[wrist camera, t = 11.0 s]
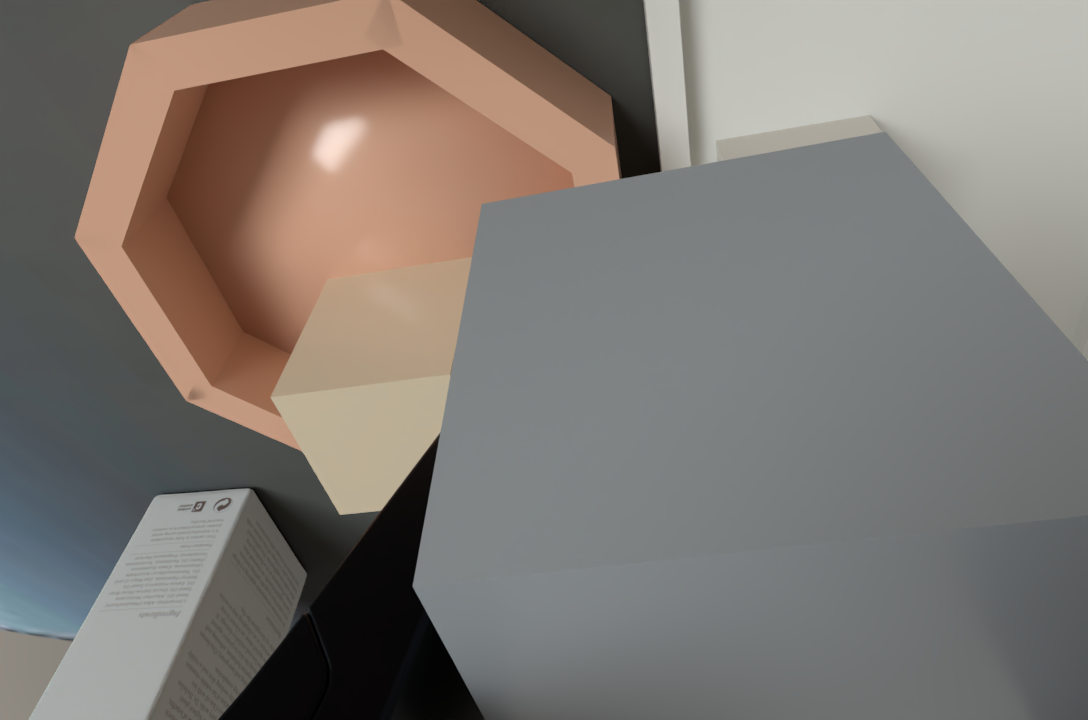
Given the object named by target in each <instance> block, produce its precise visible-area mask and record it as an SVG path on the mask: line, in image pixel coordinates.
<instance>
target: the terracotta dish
mask: <svg viewBox="0 0 1088 720" xmlns="http://www.w3.org/2000/svg"><path fill="white" fill-rule="evenodd" d="M618 179H622V173H621V166H620V158H619V151H618V144H617V137H616V129H615V122H614V115H613V107H612V100H611V96H610V95H609V94H607V93H606V92H604V91H603V90H602V89H600V88H599V87H597V86H596V85H595V84H593V83H592V82H590V81H589V80H588V79H586V78H585V77H583V76H582V75H581V74H579V73H578V72H576V71H575V70H574V69H572V68H571V67H569V66H568V65H567V64H565V63H564V62H562V61H561V60H560V59H558V58H557V57H555V56H554V55H553V54H551V53H550V52H548V51H547V50H546V49H544V48H543V47H541V46H540V45H539V44H537V43H536V42H534V41H533V40H532V39H530V38H529V37H527V36H526V35H525V34H523V33H522V32H520V31H519V30H518V29H516V28H515V27H513V26H512V25H511V24H509V23H508V22H506V21H505V20H504V19H502V18H501V17H499V16H498V15H497V14H495V13H494V12H492V11H491V10H489V9H488V8H487V7H485V6H484V5H482V4H481V3H480V2H478V1H477V0H210V1H206V2H201V3H197V4H192V5H190V6H188V7H187V8H185V9H184V10H182V11H181V12H179V13H178V14H176V15H175V16H173V17H172V18H170V19H168V20H167V21H165V22H164V23H162V24H161V25H159V26H158V27H156V28H155V29H153V30H152V31H150V32H148V33H147V34H145V35H144V36H142V37H141V38H139V39H138V40H136V41H135V42H133V43H132V44H130V47H129V50H128V54H127V57H126V61H125V64H124V68H123V71H122V75H121V78H120V81H119V85H118V88H117V92H116V95H115V99H114V102H113V106H112V109H111V113H110V116H109V120H108V123H107V127H106V130H105V134H104V137H103V141H102V144H101V148H100V151H99V155H98V158H97V162H96V165H95V169H94V172H93V176H92V179H91V182H90V186H89V189H88V193H87V196H86V200H85V203H84V207H83V210H82V214H81V217H80V221H79V224H78V228H77V231H76V235H75V239H76V241H77V242H78V244H79V245H80V247H81V248H82V250H83V251H84V252H85V254H86V255H87V257H88V258H89V260H90V261H91V263H92V264H93V266H94V267H95V268H96V270H97V271H98V273H99V274H100V276H101V277H102V279H103V280H104V282H105V283H106V285H107V286H108V287H109V289H110V290H111V292H112V293H113V295H114V296H115V298H116V299H117V301H118V302H119V303H120V305H121V306H122V308H123V309H124V311H125V312H126V314H127V315H128V317H129V318H130V320H131V321H132V322H133V324H134V325H135V327H136V328H137V330H138V331H139V333H140V334H141V336H142V337H143V338H144V340H145V341H146V343H147V344H148V346H149V347H150V349H151V350H152V352H153V353H154V355H155V356H156V357H157V359H158V360H159V362H160V363H161V365H162V366H163V368H164V369H165V371H166V372H167V373H168V375H169V376H170V378H171V379H172V381H173V382H174V384H175V385H176V387H177V388H178V390H179V391H180V392H181V394H182V395H183V397H184V398H185V400H186V401H188V402H190V403H192V404H195V405H197V406H199V407H202V408H204V409H206V410H208V411H211V412H213V413H215V414H218V415H220V416H222V417H225V418H227V419H229V420H231V421H234V422H236V423H238V424H241V425H243V426H245V427H247V428H250V429H252V430H254V431H257V432H259V433H261V434H264V435H266V436H268V437H270V438H273V439H275V440H277V441H280V442H282V443H284V444H286V445H289V446H291V447H293V448H296V449H298V450H300V451H302V450H301V448H300V446H299V445H298V443H297V441H296V440H295V438H294V436H293V435H292V433H291V431H290V430H289V428H288V426H287V425H286V423H285V421H284V419H283V418H282V416H281V414H280V413H279V411H278V409H277V408H276V406H275V404H274V403H273V401H272V399H271V398H270V397H271V395H272V393H273V391H274V389H275V387H276V385H277V383H278V381H279V378H280V376H281V374H282V372H283V370H284V368H285V366H286V364H287V362H288V360H289V358H290V356H291V354H292V352H293V350H294V347H295V345H296V343H297V341H298V339H299V337H300V335H301V333H302V331H303V329H304V327H305V325H306V323H307V321H308V319H309V317H310V314H311V312H312V310H313V308H314V306H315V304H316V302H317V300H318V298H319V296H320V294H321V292H322V290H323V288H324V286H325V283H326V281H327V279H333V278H339V277H346V276H352V275H359V274H365V273H372V272H378V271H385V270H391V269H398V268H404V267H411V266H417V265H424V264H430V263H436V262H443V261H449V260H456V259H462V258H469V257H472V255H473V249H474V244H475V238H476V233H477V227H478V222H479V216H480V211H481V205H482V204H484V203H490V202H495V201H501V200H507V199H512V198H518V197H523V196H529V195H534V194H540V193H546V192H551V191H557V190H562V189H568V188H573V187H579V186H585V185H590V184H596V183H601V182H607V181H613V180H618Z"/></svg>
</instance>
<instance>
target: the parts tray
mask: <svg viewBox="0 0 1088 720" xmlns="http://www.w3.org/2000/svg"><path fill="white" fill-rule="evenodd" d="M643 3H644V13H645V23H646V33H647V43H648V53H649V63H650V72H651V82H652V92H653V102H654V112H655V122H656V132H657V142H658V152H659V161H660V171H661V172H663V171H668V170H674V169H679V168H685V167H691V166H696V165H702V164H707V163H713V162H717V149H716V140H721V139H727V138H733V137H739V136H746V135H752V134H758V133H764V132H770V131H776V130H782V129H788V128H794V127H800V126H806V125H812V124H818V123H824V122H830V121H836V120H842V119H848V118H854V117H860V116H866V115H870V116H871V117H872V119H873V120H874V121H875V123H876V124H877V125H878V126H879V128H880V129H881V130H882V132H886V133H887V134H888V135H889V136H890V137H891V138H892V140H893V141H894V142H895V143H896V144H897V145H898V146H899V148H900V149H901V150H902V151H903V152H904V153H905V154H906V155H907V157H908V158H909V159H910V160H911V161H912V162H913V163H914V165H915V166H916V167H917V168H918V169H919V170H920V171H921V172H922V174H923V175H924V176H925V177H926V178H927V179H928V180H929V182H930V183H931V184H932V185H933V186H934V187H935V188H936V189H937V191H938V192H939V193H940V194H941V195H942V196H943V197H944V199H945V200H946V201H947V202H948V203H949V204H950V205H951V206H952V208H953V209H954V210H955V211H956V212H957V213H958V214H959V216H960V217H961V218H962V219H963V220H964V221H965V222H966V223H967V225H968V226H969V227H970V228H971V229H972V230H973V231H974V233H975V234H976V235H977V236H978V237H979V238H980V239H981V240H982V242H983V243H984V244H985V245H986V246H987V247H988V248H989V250H990V251H991V252H992V253H993V254H994V255H995V256H996V257H997V259H998V260H999V261H1000V262H1001V263H1002V264H1003V265H1004V266H1005V268H1006V269H1007V270H1008V271H1009V272H1010V273H1011V274H1012V276H1013V277H1014V278H1015V279H1016V280H1017V281H1018V282H1019V283H1020V285H1021V286H1022V287H1023V288H1024V289H1025V290H1026V291H1027V293H1028V294H1029V295H1030V296H1031V297H1032V298H1033V299H1034V300H1035V302H1036V303H1037V304H1038V305H1039V306H1040V307H1041V308H1042V310H1043V311H1044V312H1045V313H1046V314H1047V315H1048V316H1049V317H1050V319H1051V320H1052V321H1053V322H1054V323H1055V324H1056V325H1057V327H1058V328H1059V329H1060V330H1061V331H1062V332H1063V333H1064V334H1065V336H1066V337H1067V338H1068V339H1069V340H1070V341H1071V342H1072V344H1073V345H1074V346H1075V347H1076V348H1077V349H1078V350H1079V351H1080V353H1081V354H1082V355H1083V356H1084V357H1085V358H1086V359H1087V361H1088V0H643Z"/></svg>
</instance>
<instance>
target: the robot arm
mask: <svg viewBox="0 0 1088 720" xmlns="http://www.w3.org/2000/svg"><path fill="white" fill-rule="evenodd" d="M439 438H440V433H439V435H438V436H437V437H436V439H435V440H434V441H433V443H432V444H431V445H430V447H429V448H428V449H427V451H426V452H425V453H424V454H423V456H422V457H421V458H420V460H419V461H418V462H417V464H416V465H415V466H414V468H413V469H412V470H411V472H410V473H409V474H408V476H407V477H406V478H405V480H404V481H403V482H402V484H401V485H400V486H399V488H398V489H397V490H396V492H395V493H394V494H393V495H392V497H391V498H390V499H389V501H388V502H387V503H386V505H385V506H384V507H383V509H382V510H381V511H380V513H379V514H378V515H377V517H376V518H375V519H374V521H373V522H372V523H371V525H370V526H369V527H368V529H367V530H366V531H365V533H364V534H363V535H362V537H361V538H360V539H359V540H358V542H357V543H356V544H355V546H354V547H353V548H352V550H351V551H350V552H349V554H348V555H347V556H346V558H345V559H344V560H343V562H342V563H341V564H340V566H339V567H338V568H337V570H336V571H335V572H334V574H333V575H332V576H331V578H330V579H329V580H328V581H327V583H326V584H325V585H324V587H323V588H322V589H321V591H320V592H319V593H318V595H317V596H316V597H315V599H314V600H313V601H312V603H311V604H310V605H309V607H308V612H309V614H308V613H304V614H302V615H301V617H300V618H299V619H298V621H297V622H296V623H295V625H294V626H293V627H292V629H291V630H290V631H289V633H288V634H287V635H286V637H285V638H284V639H283V641H282V642H281V643H280V644H279V646H278V647H277V648H276V650H275V651H274V652H273V653H272V655H271V656H270V657H269V658H268V660H267V661H266V662H265V663H264V665H263V666H262V667H261V668H260V670H259V671H258V672H257V674H256V675H255V676H254V677H253V679H252V680H251V681H250V682H249V684H248V685H247V686H246V687H245V689H244V690H243V691H242V692H241V693H240V694H239V696H238V697H237V698H236V699H235V700H234V701H233V703H232V704H231V705H230V706H229V707H228V708H227V709H226V711H225V712H224V713H223V714H222V715H221V716H220V718H219V719H218V720H485V719H484V717H483V715H482V713H481V712H480V710H479V708H478V706H477V704H476V702H475V700H474V699H473V697H472V695H471V693H470V691H469V689H468V688H467V686H466V684H465V682H464V680H463V678H462V677H461V675H460V673H459V671H458V669H457V667H456V665H455V664H454V662H453V660H452V658H451V656H450V654H449V653H448V651H447V649H446V647H445V645H444V643H443V642H442V640H441V638H440V636H439V634H438V632H437V631H436V629H435V627H434V625H433V623H432V621H431V619H430V618H429V616H428V614H427V612H426V610H425V608H424V607H423V605H422V603H421V601H420V599H419V597H418V596H417V594H416V592H415V590H414V588H413V581H414V576H415V570H416V565H417V559H418V554H419V548H420V543H421V537H422V532H423V526H424V521H425V515H426V509H427V504H428V498H429V493H430V487H431V482H432V476H433V471H434V465H435V460H436V454H437V449H438V443H439Z"/></svg>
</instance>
